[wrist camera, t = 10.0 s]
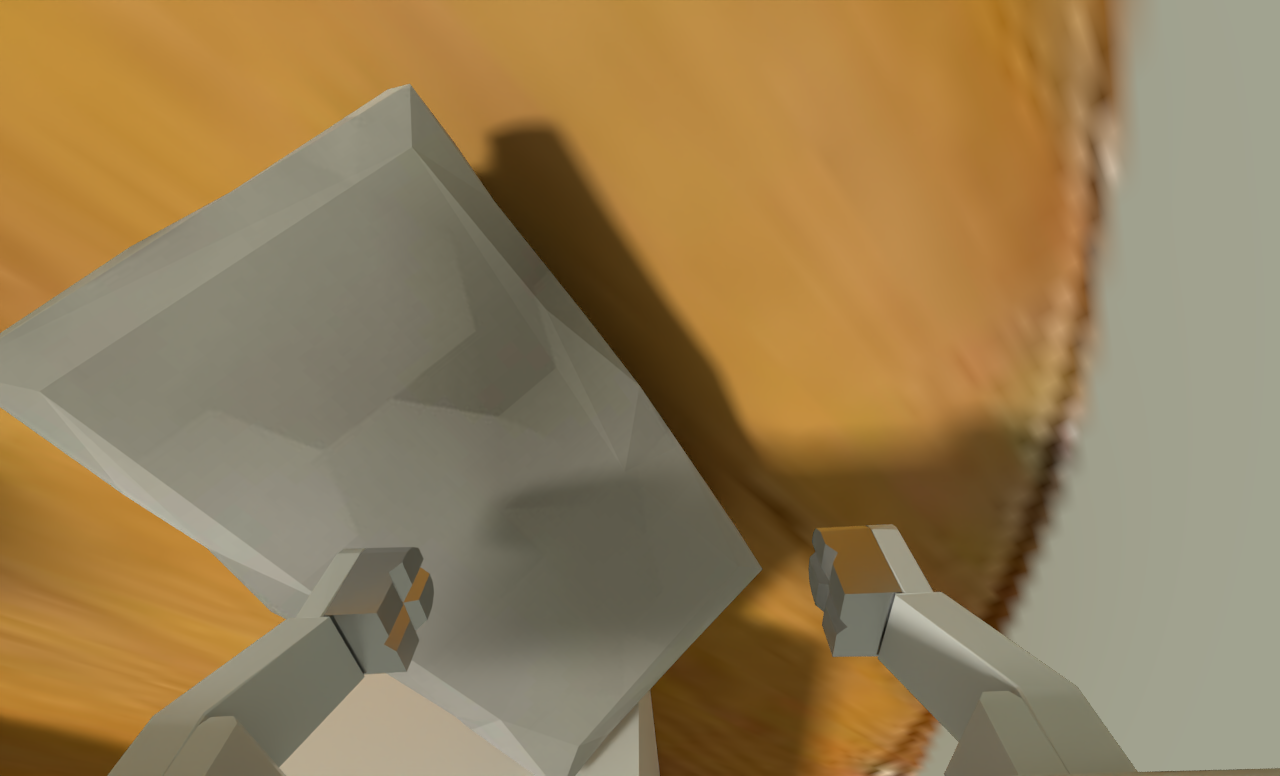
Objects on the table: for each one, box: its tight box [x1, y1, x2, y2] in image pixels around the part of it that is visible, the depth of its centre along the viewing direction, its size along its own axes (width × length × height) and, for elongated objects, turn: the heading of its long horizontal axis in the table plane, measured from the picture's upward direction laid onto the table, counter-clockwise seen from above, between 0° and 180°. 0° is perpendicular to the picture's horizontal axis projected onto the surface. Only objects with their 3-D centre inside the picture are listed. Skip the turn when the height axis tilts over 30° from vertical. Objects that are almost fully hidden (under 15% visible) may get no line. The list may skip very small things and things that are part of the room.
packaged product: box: [0, 84, 762, 776], centre depth 16 cm, size 18×5×10 cm
